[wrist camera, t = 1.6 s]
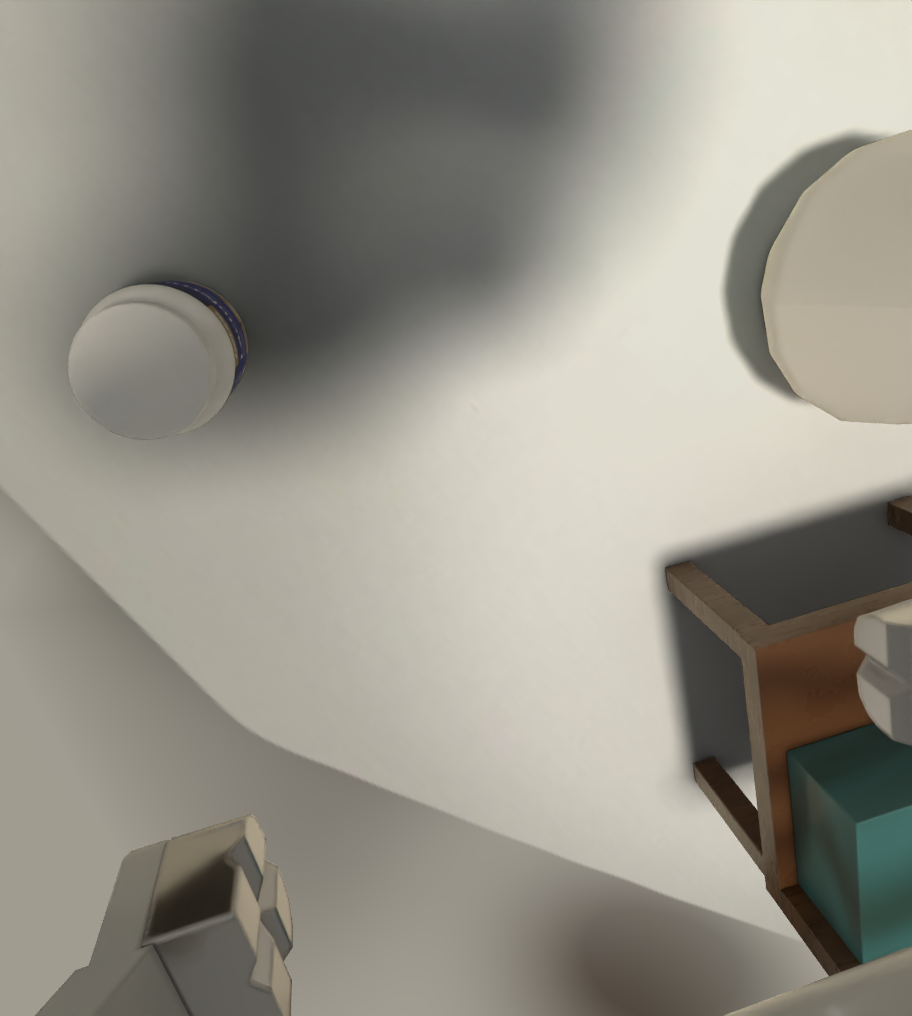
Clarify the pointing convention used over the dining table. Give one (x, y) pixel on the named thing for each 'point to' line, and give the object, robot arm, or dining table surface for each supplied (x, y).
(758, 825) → the chair
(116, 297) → the pill bottle
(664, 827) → the dining table surface
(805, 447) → the dining table surface
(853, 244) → the cup
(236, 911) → the robot arm
